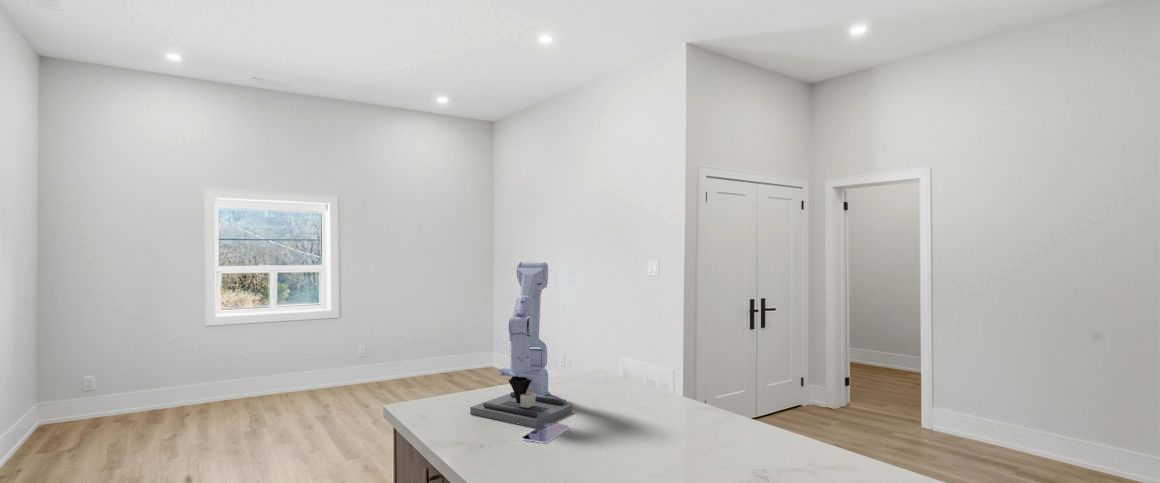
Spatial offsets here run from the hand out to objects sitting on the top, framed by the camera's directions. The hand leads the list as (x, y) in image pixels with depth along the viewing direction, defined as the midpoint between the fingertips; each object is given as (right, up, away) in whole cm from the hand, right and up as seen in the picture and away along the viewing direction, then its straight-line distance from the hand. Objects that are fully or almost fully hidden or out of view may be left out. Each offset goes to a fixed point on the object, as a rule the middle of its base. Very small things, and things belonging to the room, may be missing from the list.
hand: (520, 402), depth 172 cm
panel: (0, -3, 0) cm, 3 cm away
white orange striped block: (+2, -1, -1) cm, 3 cm away
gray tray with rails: (+1, -1, 0) cm, 2 cm away
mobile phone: (+9, -4, -19) cm, 21 cm away
